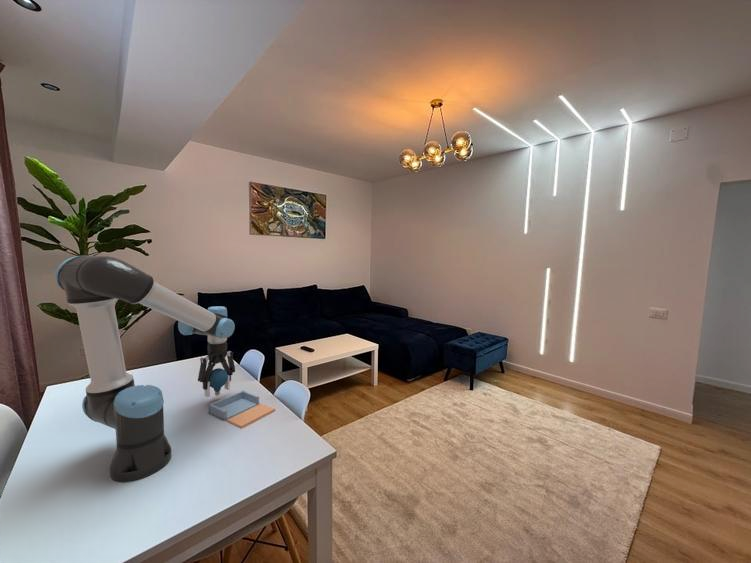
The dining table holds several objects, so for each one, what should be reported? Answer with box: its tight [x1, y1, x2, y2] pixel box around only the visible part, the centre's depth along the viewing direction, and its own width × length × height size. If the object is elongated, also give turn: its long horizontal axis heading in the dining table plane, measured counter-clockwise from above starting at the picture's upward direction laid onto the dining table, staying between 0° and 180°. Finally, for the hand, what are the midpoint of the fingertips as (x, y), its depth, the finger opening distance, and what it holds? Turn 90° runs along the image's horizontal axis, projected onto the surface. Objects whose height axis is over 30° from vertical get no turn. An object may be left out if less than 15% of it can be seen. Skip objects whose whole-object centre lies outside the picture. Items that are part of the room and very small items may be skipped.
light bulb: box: [208, 367, 228, 397], centre depth 133 cm, size 8×8×12 cm
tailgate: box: [225, 403, 276, 429], centre depth 122 cm, size 16×1×10 cm
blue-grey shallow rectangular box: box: [208, 390, 260, 422], centre depth 128 cm, size 16×11×4 cm
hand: (217, 392), depth 133 cm, fingers closed on light bulb, 8 cm apart
